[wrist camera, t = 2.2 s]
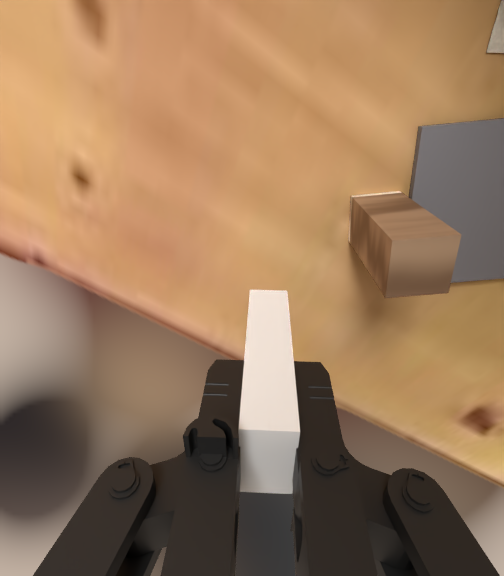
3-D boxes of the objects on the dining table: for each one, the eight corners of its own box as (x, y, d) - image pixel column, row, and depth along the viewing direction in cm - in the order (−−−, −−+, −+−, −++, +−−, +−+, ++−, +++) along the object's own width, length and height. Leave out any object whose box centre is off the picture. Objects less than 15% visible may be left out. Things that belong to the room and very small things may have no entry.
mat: (418, 126, 33) (422, 127, 32) (571, 111, 33) (578, 112, 32) (396, 283, 42) (399, 286, 41) (518, 273, 41) (522, 276, 40)
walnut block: (350, 195, 36) (392, 240, 26) (399, 191, 36) (461, 234, 26) (348, 240, 39) (385, 298, 28) (394, 236, 39) (448, 293, 28)
